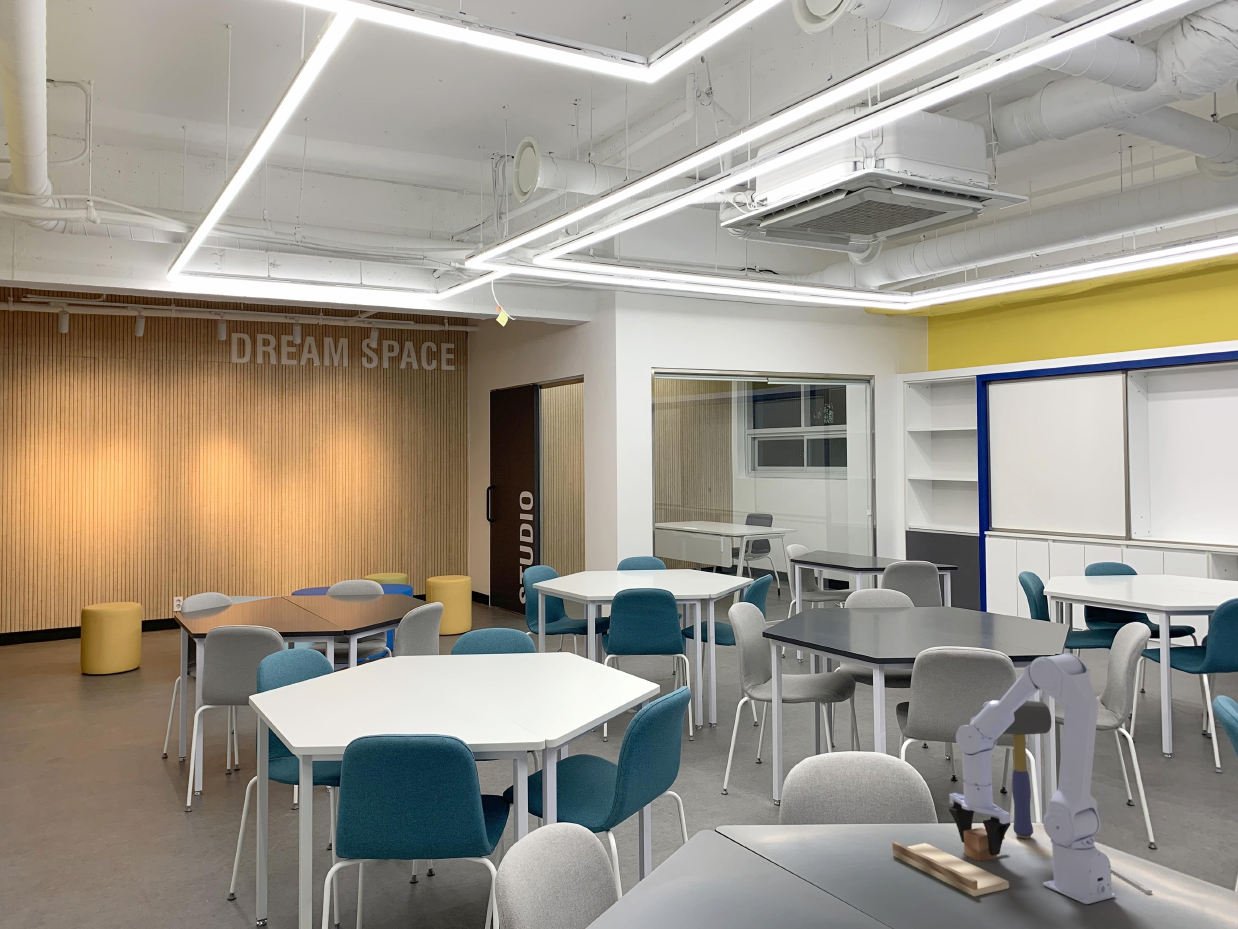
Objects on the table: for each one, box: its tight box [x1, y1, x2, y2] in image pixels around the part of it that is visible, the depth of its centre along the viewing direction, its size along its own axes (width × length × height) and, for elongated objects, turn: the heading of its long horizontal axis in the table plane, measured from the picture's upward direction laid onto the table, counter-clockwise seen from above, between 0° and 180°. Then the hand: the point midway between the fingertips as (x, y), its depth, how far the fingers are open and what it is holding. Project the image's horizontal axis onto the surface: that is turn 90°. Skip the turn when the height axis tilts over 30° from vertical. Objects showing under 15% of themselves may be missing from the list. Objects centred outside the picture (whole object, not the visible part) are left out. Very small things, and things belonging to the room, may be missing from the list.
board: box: [892, 841, 1010, 897], centre depth 171 cm, size 22×9×3 cm, turn 24°
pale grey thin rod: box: [1111, 866, 1153, 895], centre depth 166 cm, size 12×1×1 cm, turn 6°
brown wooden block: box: [963, 826, 1006, 862], centre depth 180 cm, size 4×9×5 cm, turn 114°
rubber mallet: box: [1001, 700, 1052, 839], centre depth 190 cm, size 12×8×30 cm, turn 86°
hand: (980, 848), depth 179 cm, fingers open, 7 cm apart
